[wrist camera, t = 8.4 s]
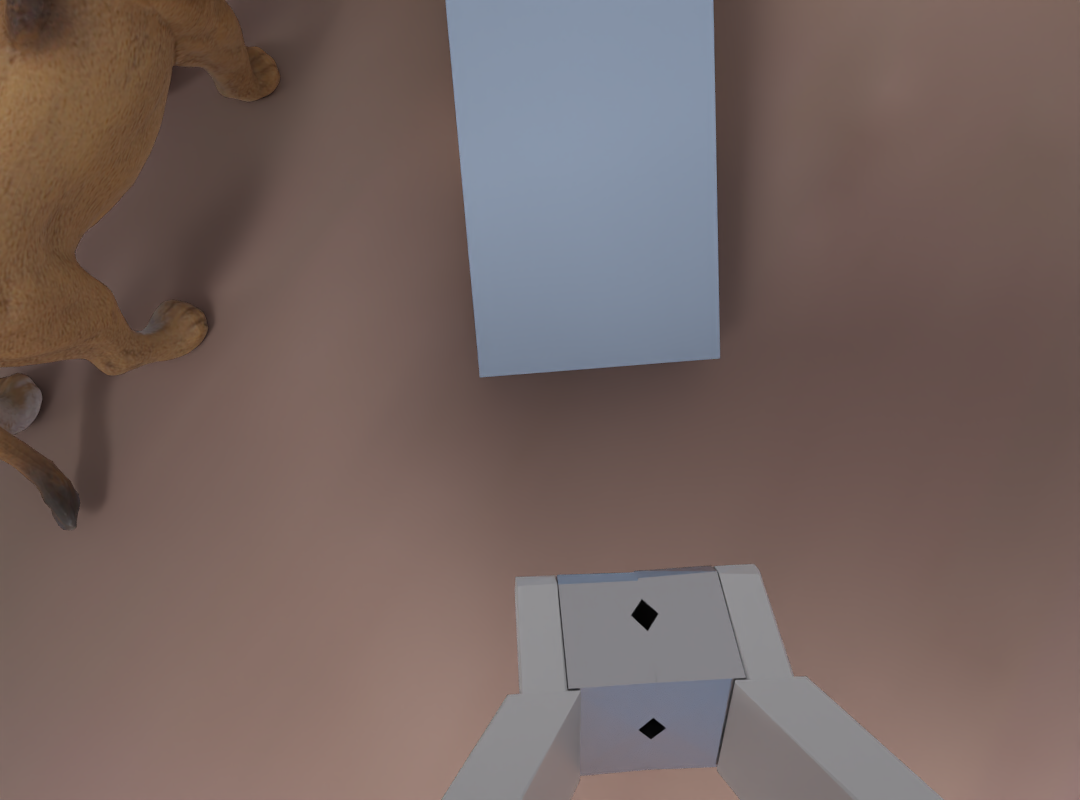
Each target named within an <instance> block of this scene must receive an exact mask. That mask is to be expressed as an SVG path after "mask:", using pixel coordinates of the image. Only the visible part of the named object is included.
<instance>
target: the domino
mask: <svg viewBox="0 0 1080 800" xmlns="http://www.w3.org/2000/svg"><path fill="white" fill-rule="evenodd" d="M445 1H446V12H447V23H448V34H449V45H450V56H451V66H452V77H453V88H454V99H455V110H456V121H457V132H458V143H459V154H460V165H461V176H462V187H463V198H464V209H465V220H466V231H467V242H468V253H469V264H470V275H471V286H472V297H473V308H474V319H475V330H476V341H477V352H478V363H479V374H480V377H492V376H504V375H517V374H530V373H542V372H555V371H567V370H580V369H593V368H605V367H618V366H630V365H643V364H656V363H668V362H681V361H694V360H706V359H719V358H720V326H719V273H718V220H717V167H716V114H715V60H714V7H713V0H445Z"/></svg>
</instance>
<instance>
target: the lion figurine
mask: <svg viewBox="0 0 1080 800" xmlns="http://www.w3.org/2000/svg"><path fill="white" fill-rule="evenodd" d="M173 66H181V67H201V68H203V69H204V70H205V71H206V72H207V73H208V74H210V75H211V77H212V78H213V81H214V83H215V86H216V88H217V90H218V91H219V93H220V94H221V95H223V96H224V97H226V98H235V99H239V100H243V101H248V102H250V101H255V100H258V99H260V98H263V97H265V96H267V95H269V94H270V93H272V92H273V91H274V90H275V88H276V87H277V85H278V83H279V81H280V74H279V71H278V69H277V66H276V63H275V61H274V59H273V58H272V57H270V56H269V55H268V54H266V53H265V52H264V51H263V50H262V49H261V48H259V47H256V46H255V47H246V46H245V44H244V39H243V35H242V30H241V27H240V24H239V22H238V19H237V17H236V16H235V14H234V12H233V10H232V9H231V8H230V6H229V5H228V4H227V2H226V1H225V0H0V367H18V366H26V365H34V364H42V363H49V362H56V361H61V360H70V359H86V360H88V361H90V362H91V363H93V364H94V365H95V366H96V367H97V368H98V369H99V370H100V371H102V372H103V373H105V374H107V375H113V376H115V375H120V374H123V373H126V372H128V371H130V370H132V369H135V368H138V367H140V366H143V365H146V364H150V363H153V362H157V361H166V360H171V359H175V358H178V357H181V356H183V355H185V354H187V353H189V352H190V351H192V350H193V349H194V348H196V347H197V346H198V345H199V344H200V343H201V342H202V340H203V339H204V338H205V335H206V333H207V330H208V326H207V321H206V318H205V315H204V313H203V312H202V310H200V309H199V308H197V307H195V306H193V305H191V304H189V303H186V302H182V301H177V300H167V301H165V302H163V303H161V304H160V305H159V306H158V308H157V309H156V310H155V311H154V313H153V315H152V317H151V319H150V321H149V323H148V324H147V326H146V328H145V329H144V330H142V331H134V330H132V329H131V328H130V327H129V326H128V324H127V322H126V320H125V318H124V317H123V315H122V313H121V311H120V310H119V308H118V305H117V302H116V300H115V298H114V296H113V294H112V292H111V291H110V290H109V288H108V287H107V286H105V285H104V284H103V283H101V282H100V281H98V280H97V279H95V278H94V277H92V276H91V275H90V274H88V273H87V272H86V271H85V270H84V269H83V268H82V267H81V266H80V265H79V264H78V262H77V261H76V257H75V250H76V248H77V246H78V243H79V241H80V239H81V238H82V236H83V235H84V233H85V232H86V231H87V230H89V229H90V228H91V227H92V226H94V225H95V224H96V223H97V222H98V221H99V220H100V219H101V218H102V217H103V216H104V215H105V214H106V213H107V212H109V211H110V210H111V209H112V208H113V206H114V205H115V204H116V203H117V202H118V201H119V200H120V199H121V197H122V196H123V195H124V194H125V193H126V192H127V191H128V190H129V189H130V188H131V187H132V185H133V184H134V182H135V181H136V179H137V177H138V175H139V173H140V171H141V170H142V168H143V166H144V164H145V162H146V160H147V159H148V157H149V155H150V153H151V151H152V148H153V145H154V143H155V140H156V138H157V135H158V132H159V129H160V126H161V123H162V119H163V114H164V110H165V105H166V100H167V95H168V90H169V86H170V81H171V74H172V67H173ZM41 402H42V393H41V391H40V389H39V388H38V387H37V386H36V385H35V384H34V382H33V381H32V379H30V378H29V377H28V376H27V375H24V374H20V373H16V374H14V375H11V376H9V377H5V378H0V459H1V460H3V461H5V462H7V463H8V464H10V465H12V466H13V467H14V468H16V469H17V470H18V471H19V472H20V473H22V474H23V475H24V476H25V477H26V478H27V479H28V480H30V481H31V482H32V483H33V484H35V485H36V487H37V488H38V490H39V491H40V493H41V495H42V498H43V500H44V502H45V503H46V504H47V505H48V506H49V507H50V508H51V511H52V514H53V517H54V518H55V520H56V522H57V523H58V525H59V526H60V527H61V528H62V529H63V530H73V529H75V528H76V526H77V524H76V521H77V515H78V511H79V507H80V499H79V494H78V493H77V491H76V490H75V489H74V487H73V485H72V483H71V482H70V480H69V479H68V478H67V477H66V476H65V475H64V474H63V473H62V472H61V471H60V470H59V469H58V468H57V467H56V465H55V464H54V462H53V461H51V460H49V459H48V458H46V457H45V456H43V455H42V454H40V453H39V452H37V451H36V450H34V449H33V448H32V447H30V446H29V445H27V444H26V443H25V442H23V441H21V440H19V439H18V438H16V437H15V436H13V435H14V434H16V433H18V432H21V431H23V430H25V429H26V428H27V427H28V426H29V425H30V424H31V423H32V422H33V421H34V419H35V418H36V416H37V415H38V413H39V410H40V406H41Z"/></svg>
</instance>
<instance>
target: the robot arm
mask: <svg viewBox="0 0 1080 800" xmlns="http://www.w3.org/2000/svg"><path fill="white" fill-rule="evenodd" d="M515 606H516V628H517V649H518V671H519V692H520V694H510V695H507V696H506V698H505V700H504V701H503V703H502V704H501V706H500V708H499V709H498V711H497V712H496V714H495V715H494V717H493V719H492V720H491V722H490V723H489V725H488V727H487V728H486V730H485V731H484V733H483V734H482V736H481V738H480V739H479V741H478V742H477V744H476V746H475V747H474V749H473V750H472V752H471V754H470V755H469V757H468V758H467V760H466V761H465V763H464V765H463V766H462V768H461V769H460V771H459V773H458V774H457V776H456V777H455V779H454V780H453V782H452V784H451V785H450V787H449V788H448V790H447V792H446V793H445V795H444V796H443V798H442V799H441V800H571V798H572V796H573V794H574V792H575V790H576V788H577V785H578V783H579V781H580V776H584V775H595V774H606V773H617V772H627V771H638V770H652V769H678V768H704V767H717V772H718V773H719V774H720V775H721V777H722V778H723V779H724V780H725V781H726V783H727V784H728V785H729V786H730V788H731V789H732V790H733V791H734V793H735V794H736V795H737V796H738V798H739V799H740V800H944V799H943V798H942V797H940V796H939V795H938V794H937V793H936V792H935V791H934V790H933V789H931V788H930V787H929V786H928V785H927V784H926V783H925V782H924V781H923V780H921V779H920V778H919V777H918V776H917V775H916V774H915V773H914V772H913V771H911V770H910V769H909V768H908V767H907V766H906V765H905V764H904V763H902V762H901V761H900V760H899V759H898V758H897V757H896V756H895V755H894V754H892V753H891V752H890V751H889V750H888V749H887V748H886V747H885V746H884V745H882V744H881V743H880V742H879V741H878V740H877V739H876V738H875V737H873V736H872V735H871V734H870V733H869V732H868V731H867V730H866V729H865V728H863V727H862V726H861V725H860V724H859V723H858V722H857V721H856V720H855V719H853V718H852V717H851V716H850V715H849V714H848V713H847V712H846V711H844V710H843V709H842V708H841V707H840V706H839V705H838V704H837V703H836V702H834V701H833V700H832V699H831V698H830V697H829V696H828V695H827V694H826V693H824V692H823V691H822V690H821V689H820V688H819V687H818V686H817V685H816V684H814V683H813V682H812V681H811V680H810V679H809V678H808V677H807V676H794V675H793V672H792V669H791V665H790V662H789V659H788V656H787V653H786V650H785V647H784V644H783V641H782V638H781V635H780V632H779V629H778V626H777V622H776V619H775V616H774V613H773V610H772V607H771V604H770V601H769V598H768V595H767V592H766V589H765V586H764V583H763V579H762V576H761V573H760V570H759V569H758V568H757V567H756V566H755V565H754V564H742V565H725V566H714V567H712V566H697V567H683V568H669V569H655V570H641V571H634V572H633V573H601V574H570V575H557V576H555V575H548V576H526V577H516V579H515Z"/></svg>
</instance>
